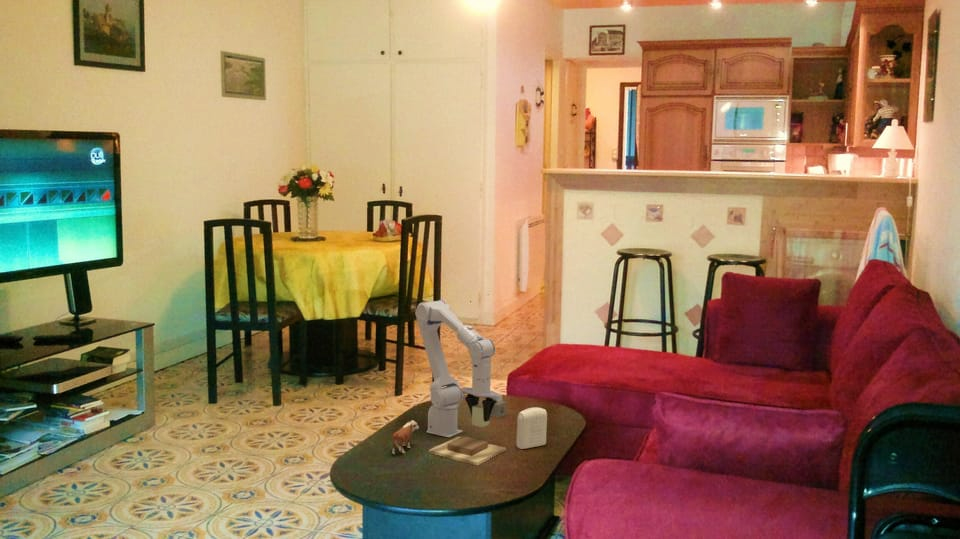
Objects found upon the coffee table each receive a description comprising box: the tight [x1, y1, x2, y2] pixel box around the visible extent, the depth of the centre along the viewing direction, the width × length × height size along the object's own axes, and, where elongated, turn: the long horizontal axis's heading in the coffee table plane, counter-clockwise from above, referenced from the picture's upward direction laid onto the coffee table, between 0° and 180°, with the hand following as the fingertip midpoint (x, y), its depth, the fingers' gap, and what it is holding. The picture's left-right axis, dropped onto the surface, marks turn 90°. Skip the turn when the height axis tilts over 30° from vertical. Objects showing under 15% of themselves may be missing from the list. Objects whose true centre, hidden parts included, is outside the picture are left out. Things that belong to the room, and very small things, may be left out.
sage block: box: [471, 403, 490, 428], centre depth 274 cm, size 4×4×6 cm
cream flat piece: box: [428, 435, 507, 466], centre depth 269 cm, size 18×16×3 cm
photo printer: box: [515, 407, 548, 450], centre depth 275 cm, size 10×4×12 cm, turn 123°
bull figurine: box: [391, 419, 420, 455], centre depth 269 cm, size 4×13×8 cm, turn 155°
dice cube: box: [490, 400, 507, 419], centre depth 307 cm, size 5×5×5 cm
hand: (480, 419), depth 274 cm, fingers closed on sage block, 4 cm apart
